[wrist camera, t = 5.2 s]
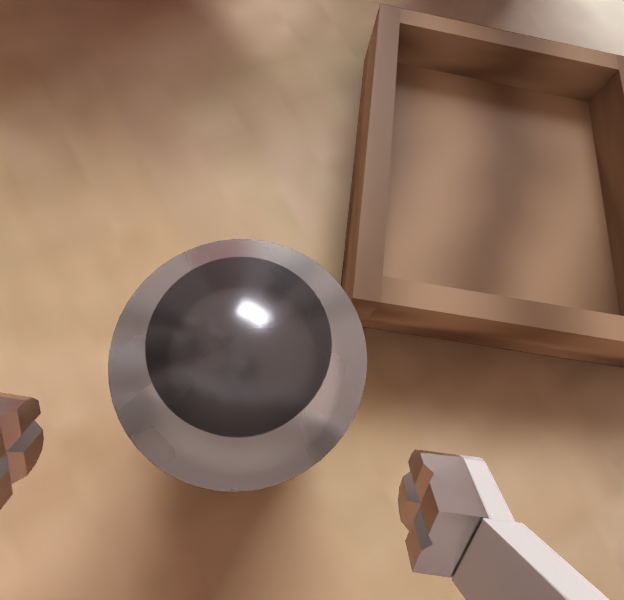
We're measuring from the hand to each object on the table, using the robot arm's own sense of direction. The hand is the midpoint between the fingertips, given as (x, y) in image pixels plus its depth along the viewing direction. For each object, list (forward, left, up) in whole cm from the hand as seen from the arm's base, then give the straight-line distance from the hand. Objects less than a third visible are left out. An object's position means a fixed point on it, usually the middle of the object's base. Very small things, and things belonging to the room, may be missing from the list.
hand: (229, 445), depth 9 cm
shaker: (0, +2, -6) cm, 7 cm away
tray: (+9, +13, -6) cm, 17 cm away
